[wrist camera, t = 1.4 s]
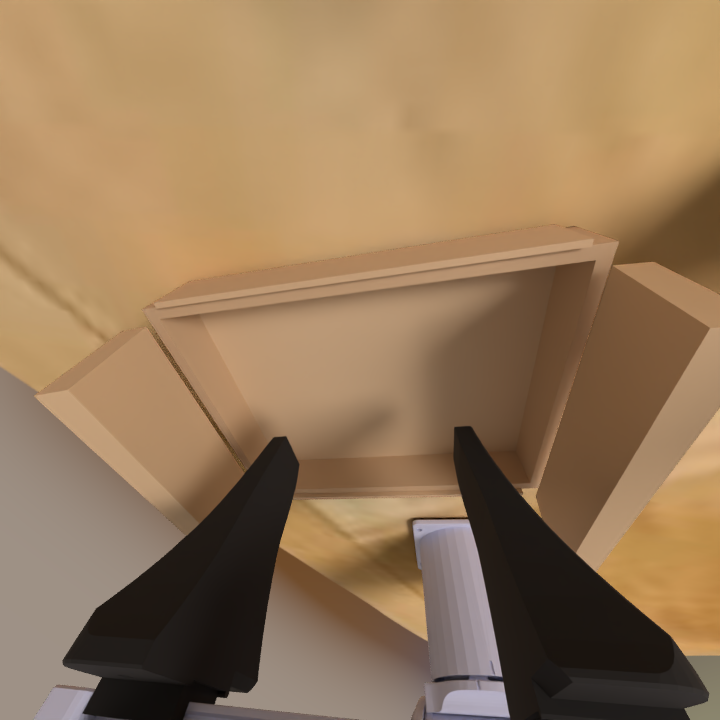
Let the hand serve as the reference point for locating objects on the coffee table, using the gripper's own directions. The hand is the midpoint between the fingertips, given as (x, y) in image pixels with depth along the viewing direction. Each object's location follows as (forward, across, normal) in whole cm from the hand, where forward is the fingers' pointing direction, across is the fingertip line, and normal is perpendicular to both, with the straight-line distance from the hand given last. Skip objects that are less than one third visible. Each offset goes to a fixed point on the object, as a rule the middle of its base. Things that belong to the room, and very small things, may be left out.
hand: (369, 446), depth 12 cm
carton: (+4, 0, 0) cm, 4 cm away
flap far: (-1, +8, 0) cm, 8 cm away
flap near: (-1, -8, 0) cm, 8 cm away
